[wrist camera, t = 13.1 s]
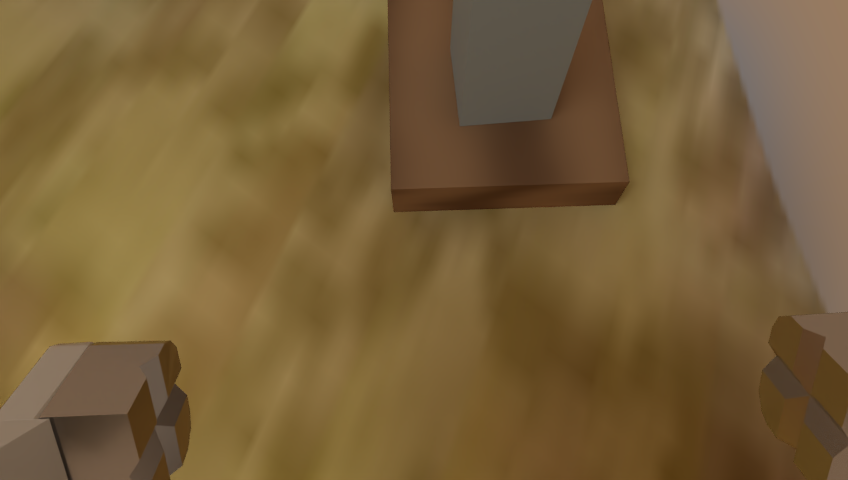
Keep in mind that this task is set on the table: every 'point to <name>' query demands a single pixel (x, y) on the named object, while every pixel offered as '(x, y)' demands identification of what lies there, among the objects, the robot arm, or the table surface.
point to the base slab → (498, 127)
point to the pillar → (512, 57)
